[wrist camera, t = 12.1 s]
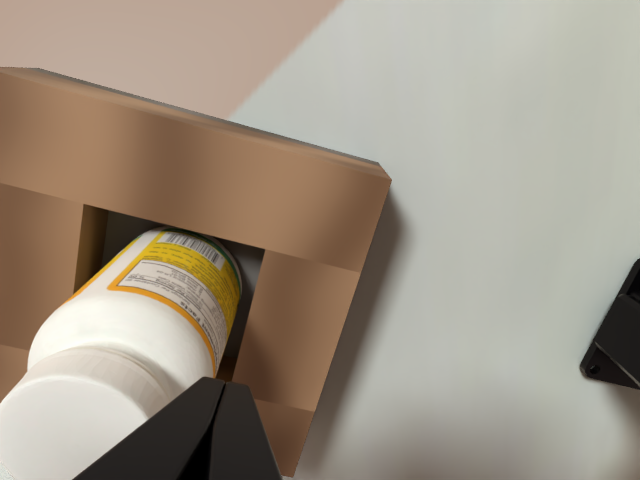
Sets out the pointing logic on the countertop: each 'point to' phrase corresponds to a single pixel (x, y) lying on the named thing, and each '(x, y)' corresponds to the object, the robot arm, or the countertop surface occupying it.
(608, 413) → the countertop surface
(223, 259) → the supplement bottle
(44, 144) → the socket block
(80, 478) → the robot arm
